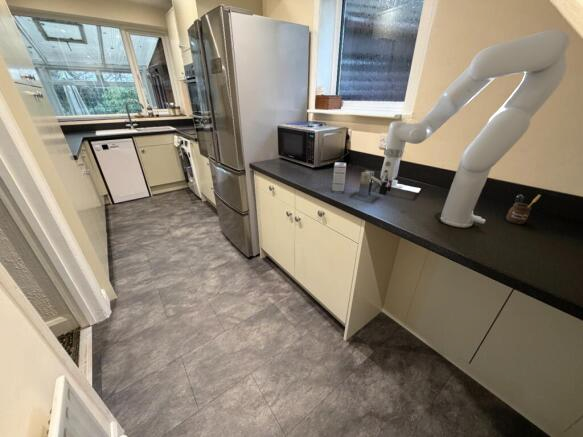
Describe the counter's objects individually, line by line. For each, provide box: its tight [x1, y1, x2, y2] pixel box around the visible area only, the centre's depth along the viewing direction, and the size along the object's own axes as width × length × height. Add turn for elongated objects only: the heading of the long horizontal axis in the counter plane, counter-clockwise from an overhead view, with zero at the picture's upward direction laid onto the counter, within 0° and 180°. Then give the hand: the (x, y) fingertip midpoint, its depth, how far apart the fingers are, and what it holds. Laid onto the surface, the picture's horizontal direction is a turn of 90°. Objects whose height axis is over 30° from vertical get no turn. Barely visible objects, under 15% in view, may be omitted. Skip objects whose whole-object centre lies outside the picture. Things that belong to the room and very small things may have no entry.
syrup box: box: [332, 161, 347, 192], centre depth 118 cm, size 6×6×14 cm
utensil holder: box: [505, 194, 542, 225], centre depth 92 cm, size 6×6×12 cm
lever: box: [366, 172, 391, 187], centre depth 108 cm, size 12×5×2 cm, turn 53°
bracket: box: [357, 169, 376, 198], centre depth 112 cm, size 11×9×13 cm
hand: (384, 192), depth 108 cm, fingers closed on lever, 5 cm apart
